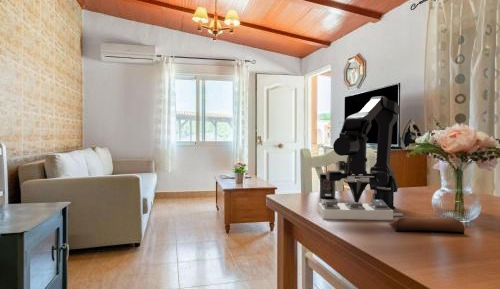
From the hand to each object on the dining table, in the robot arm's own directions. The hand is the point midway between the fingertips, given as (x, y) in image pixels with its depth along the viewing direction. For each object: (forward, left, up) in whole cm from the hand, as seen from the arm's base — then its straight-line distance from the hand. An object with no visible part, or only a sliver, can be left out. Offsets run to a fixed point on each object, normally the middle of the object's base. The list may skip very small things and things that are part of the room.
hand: (356, 202), depth 101 cm
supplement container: (+3, -33, -5) cm, 34 cm away
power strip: (-3, -3, -5) cm, 6 cm away
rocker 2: (-8, -2, -1) cm, 8 cm away
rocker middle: (0, -2, -1) cm, 2 cm away
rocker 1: (+8, -2, -1) cm, 8 cm away
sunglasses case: (-16, +11, -6) cm, 20 cm away
